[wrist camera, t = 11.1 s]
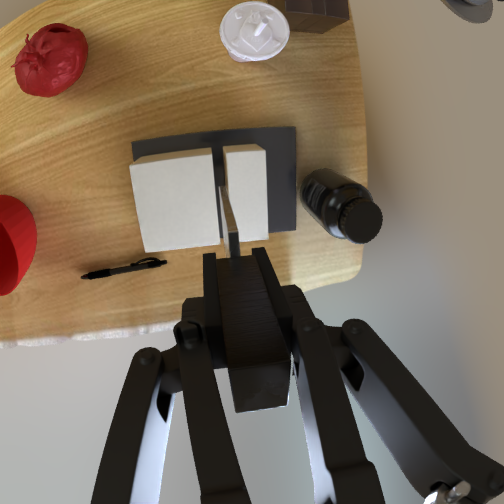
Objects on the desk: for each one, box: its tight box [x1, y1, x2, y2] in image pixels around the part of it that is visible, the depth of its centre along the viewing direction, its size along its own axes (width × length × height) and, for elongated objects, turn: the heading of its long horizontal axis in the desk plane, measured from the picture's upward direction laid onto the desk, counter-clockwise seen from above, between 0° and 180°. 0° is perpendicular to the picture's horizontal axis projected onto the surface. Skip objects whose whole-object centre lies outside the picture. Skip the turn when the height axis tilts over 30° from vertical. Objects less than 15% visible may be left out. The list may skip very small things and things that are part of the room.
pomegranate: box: [11, 23, 88, 97], centre depth 21 cm, size 10×10×9 cm
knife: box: [216, 186, 291, 413], centre depth 18 cm, size 2×6×18 cm, turn 3°
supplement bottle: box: [300, 168, 383, 244], centre depth 34 cm, size 7×7×12 cm
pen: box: [81, 257, 167, 280], centre depth 39 cm, size 14×2×1 cm, turn 97°
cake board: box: [131, 126, 296, 238], centre depth 36 cm, size 20×14×1 cm
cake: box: [129, 148, 220, 253], centre depth 33 cm, size 9×10×6 cm
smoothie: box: [219, 1, 290, 62], centre depth 23 cm, size 6×6×14 cm
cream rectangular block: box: [223, 144, 268, 242], centre depth 34 cm, size 4×10×6 cm, turn 3°
